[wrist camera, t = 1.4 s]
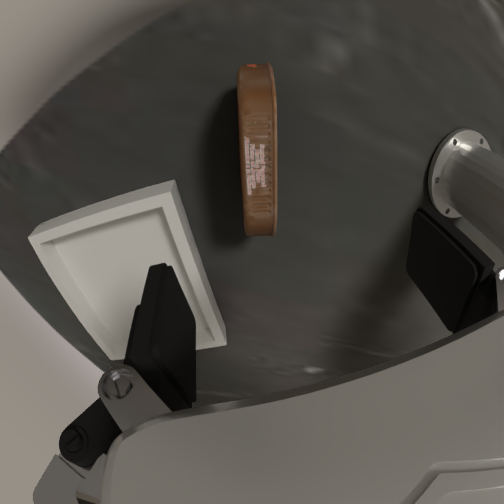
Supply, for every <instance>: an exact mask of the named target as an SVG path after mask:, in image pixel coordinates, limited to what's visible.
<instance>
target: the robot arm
mask: <svg viewBox="0 0 504 504" xmlns="http://www.w3.org/2000/svg"><path fill="white" fill-rule="evenodd" d="M428 191H429V196H430V199H431V201H432V204H433V205H434V207H435V208H436V209H437V210H438V211H439V212H440V213H439V212H438V211H437V210H436V209H435V208H433V207H432V206H425V207H420V208H418V209H417V210H416V212H415V213H414V216H413V224H412V232H411V239H410V246H409V252H408V258H407V264H406V270H407V273H408V275H409V276H410V277H411V279H412V280H413V281H414V283H415V284H416V285H417V287H418V288H419V289H420V291H421V292H422V293H423V295H424V296H425V298H426V299H427V300H428V302H429V303H430V305H431V306H432V307H433V309H434V310H435V312H436V313H437V315H438V316H439V317H440V319H441V320H442V322H443V323H444V325H445V326H446V328H447V329H448V330H449V331H452V333H453V334H452V335H450V336H448V337H446V338H444V339H441V340H439V341H437V342H434V343H432V344H430V345H427V346H425V347H422V348H420V349H418V350H415V351H413V352H410V353H407V354H405V355H402V356H400V357H397V358H394V359H392V360H389V361H386V362H383V363H380V364H377V365H375V366H372V367H369V368H366V369H362V370H359V371H356V372H353V373H350V374H346V375H343V376H340V377H336V378H333V379H329V380H326V381H322V382H318V383H315V384H311V385H307V386H303V387H299V388H295V389H291V390H286V391H282V392H277V393H272V394H268V395H263V396H258V397H253V398H248V399H242V400H237V401H231V402H225V403H219V404H213V405H206V406H201V407H195V408H192V402H195V401H196V321H195V317H194V315H193V312H192V310H191V308H190V306H189V304H188V301H187V299H186V297H185V295H184V292H183V290H182V288H181V285H180V283H179V281H178V279H177V276H176V274H175V271H174V269H173V267H172V266H171V265H170V266H167V264H166V263H160V264H156V265H152V266H150V267H149V270H148V274H147V278H146V282H145V286H144V290H143V294H142V299H141V303H140V304H139V305H137V306H136V308H135V311H134V316H133V320H132V325H131V329H130V334H129V339H128V343H127V348H126V354H125V359H124V364H119V365H116V366H113V367H111V368H110V369H108V370H107V371H106V372H105V373H104V374H103V375H102V377H101V378H100V381H99V384H98V394H99V396H100V398H99V399H97V400H96V401H95V402H94V403H93V404H92V405H91V406H90V407H88V408H87V409H86V410H85V411H84V412H83V413H82V414H81V415H80V416H79V417H77V419H75V420H74V421H73V422H72V423H71V424H70V425H69V426H67V427H66V428H65V430H64V431H63V432H62V434H61V436H60V440H59V449H60V452H61V453H60V454H59V456H58V455H54V457H53V459H52V461H51V462H50V464H49V466H48V467H47V469H46V471H45V472H44V474H43V475H42V478H41V479H40V481H39V482H38V484H37V486H36V487H35V490H34V492H33V501H34V504H504V266H501V267H499V268H497V270H496V272H494V271H493V267H494V265H495V263H494V262H493V261H492V260H491V259H490V258H489V257H488V256H487V255H486V254H485V253H484V252H483V251H482V250H481V249H480V248H479V247H478V246H477V245H476V244H474V243H473V242H472V241H471V240H470V239H469V238H468V237H467V236H466V235H465V234H464V233H463V232H461V231H460V230H459V229H458V228H457V227H456V226H455V225H454V224H452V223H451V222H450V221H449V220H448V219H447V218H445V217H444V216H446V217H449V218H458V217H462V216H463V217H464V218H465V219H466V220H468V221H469V222H470V223H471V224H472V225H473V226H475V227H476V228H477V229H478V230H479V231H480V232H481V233H482V234H484V235H485V236H486V237H487V238H488V239H489V240H490V241H491V242H492V243H493V244H494V245H496V246H497V247H498V248H499V249H500V250H501V251H502V252H503V253H504V158H503V157H501V156H499V155H497V154H496V153H494V152H492V151H491V150H490V147H489V145H488V143H487V141H486V140H485V138H484V137H483V136H482V135H481V134H480V133H478V132H476V131H474V130H471V129H459V130H455V131H454V132H452V133H450V134H449V135H448V136H447V137H446V138H445V139H444V140H443V141H442V142H441V144H440V145H439V146H438V148H437V150H436V152H435V154H434V156H433V159H432V161H431V165H430V169H429V175H428ZM442 214H443V215H444V216H443V215H442Z"/></svg>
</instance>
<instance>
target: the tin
mask: <svg viewBox="0 0 504 504" xmlns="http://www.w3.org/2000/svg"><path fill="white" fill-rule="evenodd" d="M237 101H238V127H239V152H240V173H241V189H242V202H243V217H244V230H245V234H246V235H247V236H267V235H271V236H275V234H276V227H277V105H276V90H275V82H274V75H273V70H272V67H271V64H270V63H266V64H258V65H242V66H240V68H239V70H238V73H237Z"/></svg>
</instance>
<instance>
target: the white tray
mask: <svg viewBox="0 0 504 504" xmlns="http://www.w3.org/2000/svg"><path fill="white" fill-rule="evenodd" d="M28 239H29V241H30V243H31V244H32V246H33V248H34V250H35V252H36V254H37V255H38V257H39V259H40V261H41V262H42V264H43V266H44V267H45V269H46V271H47V272H48V274H49V276H50V277H51V279H52V280H53V282H54V284H55V285H56V287H57V288H58V290H59V291H60V293H61V294H62V296H63V297H64V299H65V300H66V302H67V303H68V305H69V306H70V308H71V309H72V311H73V312H74V313H75V315H76V316H77V318H78V319H79V320H80V322H81V323H82V324H83V326H84V327H85V328H86V330H87V331H88V332H89V334H90V335H91V336H92V338H93V339H94V340H95V341H96V343H97V344H98V345H99V346H100V348H101V349H102V350H103V351H104V353H105V354H106V355H107V356H108V357H109V359H110V360H119V359H125V354H126V348H127V343H128V339H129V334H130V329H131V325H132V320H133V316H134V311H135V308H136V306H137V305H139V304H140V303H141V299H142V294H143V290H144V286H145V282H146V278H147V274H148V270H149V267H150V266H152V265H156V264H160V263H166V264H167V266H170V265H171V266H172V267H173V269H174V271H175V274H176V276H177V279H178V281H179V283H180V285H181V288H182V290H183V292H184V295H185V297H186V299H187V301H188V304H189V306H190V308H191V310H192V312H193V315H194V317H195V321H196V350H199V349H205V348H212V347H217V346H223V345H227V341H226V327H225V324H224V322H223V319H222V317H221V314H220V311H219V308H218V306H217V303H216V300H215V298H214V295H213V292H212V289H211V287H210V284H209V281H208V278H207V275H206V272H205V270H204V267H203V264H202V261H201V258H200V255H199V252H198V249H197V246H196V243H195V240H194V238H193V235H192V231H191V228H190V225H189V222H188V219H187V216H186V213H185V210H184V207H183V204H182V201H181V197H180V194H179V191H178V188H177V184H176V181H175V180H171V181H167V182H164V183H160V184H156V185H153V186H149V187H146V188H142V189H139V190H136V191H132V192H129V193H126V194H122V195H119V196H116V197H113V198H110V199H107V200H104V201H101V202H98V203H95V204H92V205H89V206H86V207H83V208H80V209H77V210H75V211H72V212H69V213H66V214H64V215H61V216H58V217H56V218H53V219H50V220H48V221H45V222H43V223H40V224H39V225H38V226H37V228H36V229H35V230H34V231H33V232H32V233H31V235H30V236H29V237H28Z"/></svg>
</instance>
